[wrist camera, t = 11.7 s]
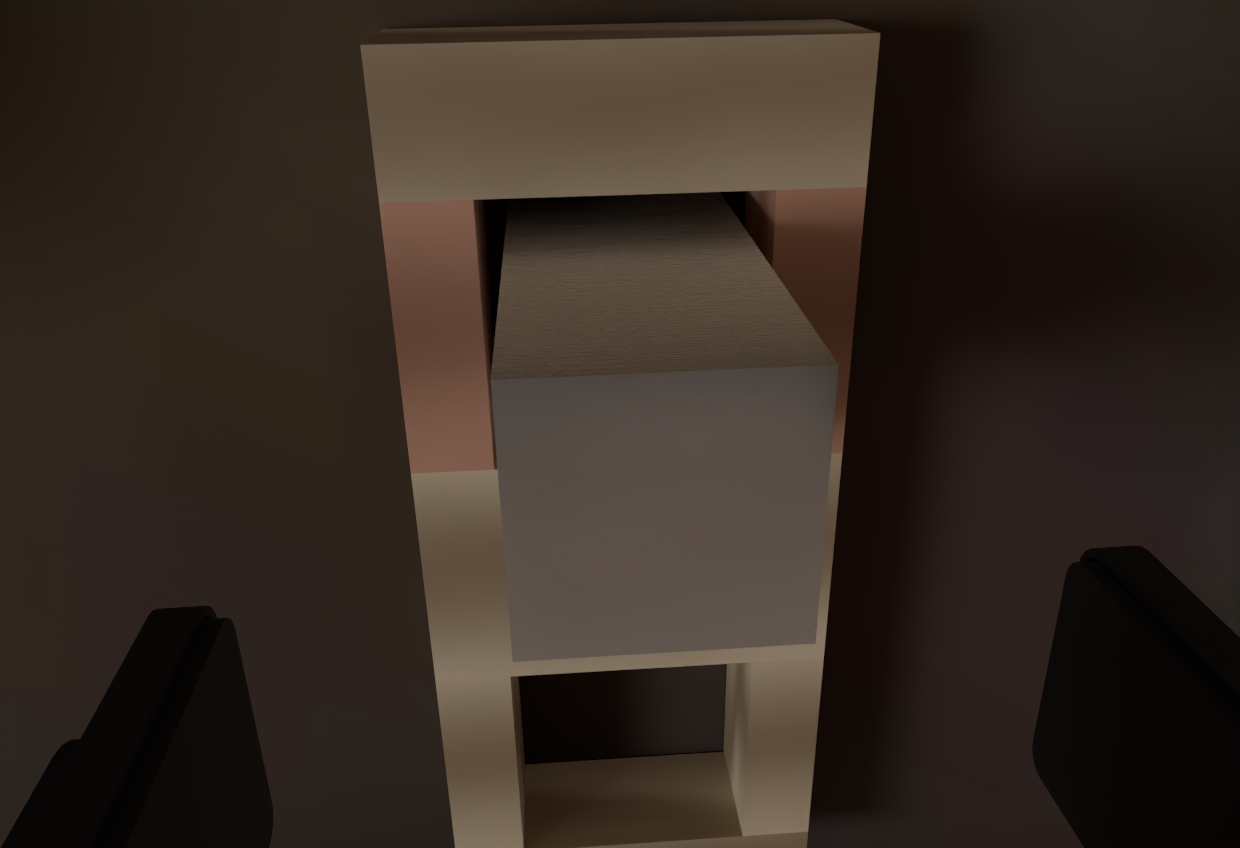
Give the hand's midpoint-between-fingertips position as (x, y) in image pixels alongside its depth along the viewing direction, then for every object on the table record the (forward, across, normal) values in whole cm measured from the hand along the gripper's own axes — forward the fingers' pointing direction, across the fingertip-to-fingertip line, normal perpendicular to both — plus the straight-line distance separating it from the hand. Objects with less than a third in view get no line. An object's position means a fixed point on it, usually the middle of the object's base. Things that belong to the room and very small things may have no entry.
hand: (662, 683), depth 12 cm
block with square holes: (+13, -1, +5) cm, 14 cm away
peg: (+13, -1, -1) cm, 13 cm away
